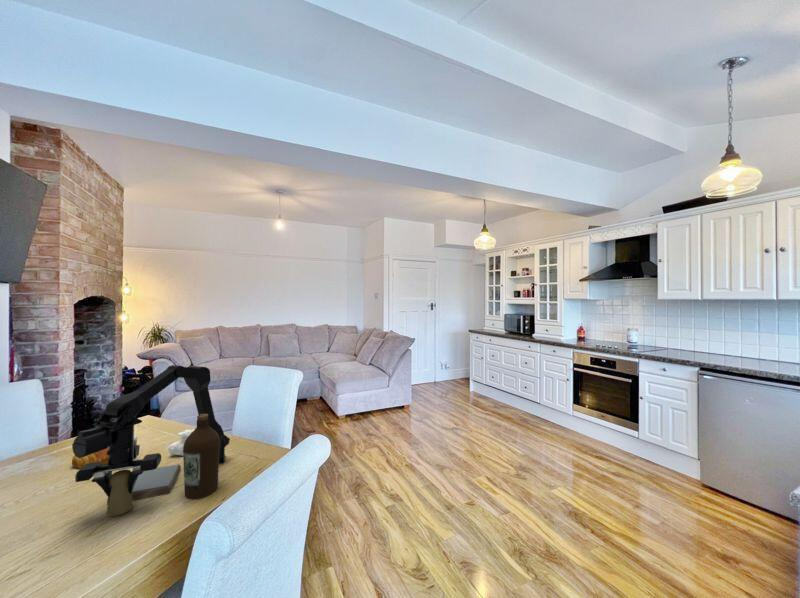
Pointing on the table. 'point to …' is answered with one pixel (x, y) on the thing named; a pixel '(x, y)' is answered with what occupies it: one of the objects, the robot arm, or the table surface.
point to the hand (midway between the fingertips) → (120, 495)
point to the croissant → (91, 459)
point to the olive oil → (201, 460)
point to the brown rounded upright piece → (119, 493)
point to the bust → (179, 443)
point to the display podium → (155, 482)
